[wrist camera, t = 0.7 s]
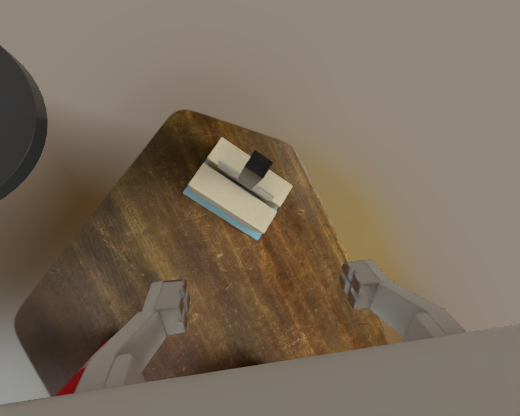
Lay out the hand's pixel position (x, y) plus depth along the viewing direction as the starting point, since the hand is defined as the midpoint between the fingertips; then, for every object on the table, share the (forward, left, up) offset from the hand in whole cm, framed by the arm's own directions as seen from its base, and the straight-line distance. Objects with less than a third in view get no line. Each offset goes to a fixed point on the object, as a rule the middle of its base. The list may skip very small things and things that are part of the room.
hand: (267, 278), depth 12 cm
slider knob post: (-3, +8, -21) cm, 23 cm away
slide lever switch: (-3, +8, -26) cm, 27 cm away
